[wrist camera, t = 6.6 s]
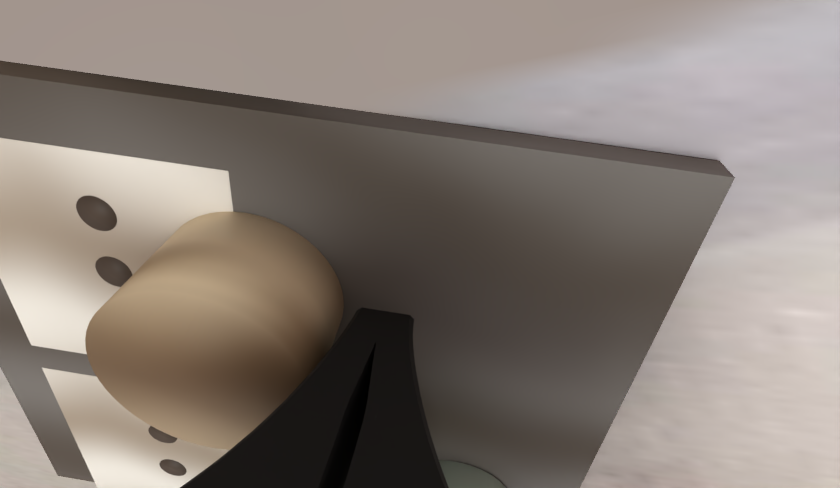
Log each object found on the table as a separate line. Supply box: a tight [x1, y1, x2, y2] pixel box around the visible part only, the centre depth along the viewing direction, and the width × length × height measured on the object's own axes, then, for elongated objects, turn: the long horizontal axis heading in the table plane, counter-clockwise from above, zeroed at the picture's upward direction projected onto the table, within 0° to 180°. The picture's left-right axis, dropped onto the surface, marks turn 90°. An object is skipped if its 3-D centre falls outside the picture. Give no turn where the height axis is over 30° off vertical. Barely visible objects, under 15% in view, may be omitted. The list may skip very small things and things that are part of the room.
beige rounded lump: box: [85, 212, 344, 450], centre depth 12 cm, size 5×5×3 cm
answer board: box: [0, 61, 735, 488], centre depth 15 cm, size 16×19×1 cm
